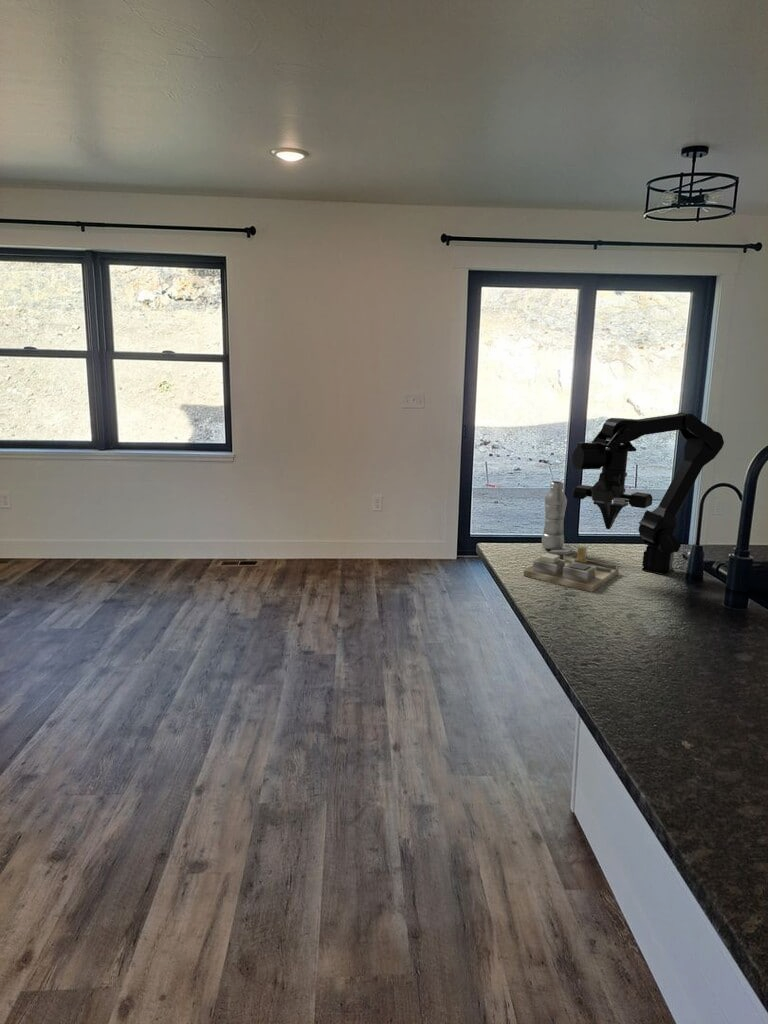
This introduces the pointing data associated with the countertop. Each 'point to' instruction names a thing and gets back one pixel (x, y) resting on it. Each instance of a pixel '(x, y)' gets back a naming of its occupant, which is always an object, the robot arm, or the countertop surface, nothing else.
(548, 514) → the plastic bottle
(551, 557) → the cream button
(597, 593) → the countertop surface
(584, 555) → the slider
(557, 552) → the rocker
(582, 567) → the charcoal button
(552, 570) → the panel
